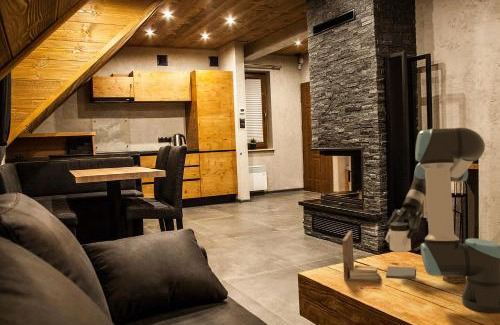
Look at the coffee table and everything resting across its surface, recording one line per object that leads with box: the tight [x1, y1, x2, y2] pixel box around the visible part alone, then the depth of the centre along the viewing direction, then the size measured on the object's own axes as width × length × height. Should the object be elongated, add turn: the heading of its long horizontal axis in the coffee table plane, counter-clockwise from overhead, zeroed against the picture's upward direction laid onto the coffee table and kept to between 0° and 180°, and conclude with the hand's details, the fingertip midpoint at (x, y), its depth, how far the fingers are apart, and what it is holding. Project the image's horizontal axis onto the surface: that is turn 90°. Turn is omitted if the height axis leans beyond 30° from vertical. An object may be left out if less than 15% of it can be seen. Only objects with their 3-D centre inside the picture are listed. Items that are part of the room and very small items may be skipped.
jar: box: [388, 221, 412, 253], centre depth 194 cm, size 9×8×12 cm
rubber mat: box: [385, 265, 416, 280], centre depth 194 cm, size 14×12×1 cm
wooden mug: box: [442, 276, 467, 284], centre depth 179 cm, size 9×14×18 cm, turn 15°
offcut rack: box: [341, 230, 382, 284], centre depth 194 cm, size 20×15×18 cm
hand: (395, 242), depth 192 cm, fingers closed on jar, 8 cm apart
